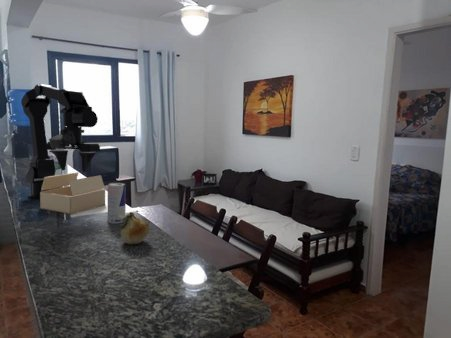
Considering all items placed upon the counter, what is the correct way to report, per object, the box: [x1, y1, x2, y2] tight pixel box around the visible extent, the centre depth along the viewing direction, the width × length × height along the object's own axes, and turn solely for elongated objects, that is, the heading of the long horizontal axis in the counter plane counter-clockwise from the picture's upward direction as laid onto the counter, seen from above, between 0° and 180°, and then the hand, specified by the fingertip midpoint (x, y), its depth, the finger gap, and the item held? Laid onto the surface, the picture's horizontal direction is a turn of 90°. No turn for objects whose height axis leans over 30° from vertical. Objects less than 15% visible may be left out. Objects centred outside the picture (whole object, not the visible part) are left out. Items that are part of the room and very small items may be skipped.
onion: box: [118, 211, 151, 245], centre depth 87 cm, size 8×8×8 cm
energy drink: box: [107, 182, 127, 225], centre depth 104 cm, size 5×5×12 cm
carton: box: [39, 185, 106, 215], centre depth 119 cm, size 14×17×6 cm
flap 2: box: [69, 174, 105, 195], centre depth 117 cm, size 5×15×1 cm
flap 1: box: [41, 172, 79, 190], centre depth 121 cm, size 5×15×1 cm
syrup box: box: [48, 153, 64, 176], centre depth 155 cm, size 6×6×14 cm
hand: (73, 171), depth 117 cm, fingers open, 9 cm apart
